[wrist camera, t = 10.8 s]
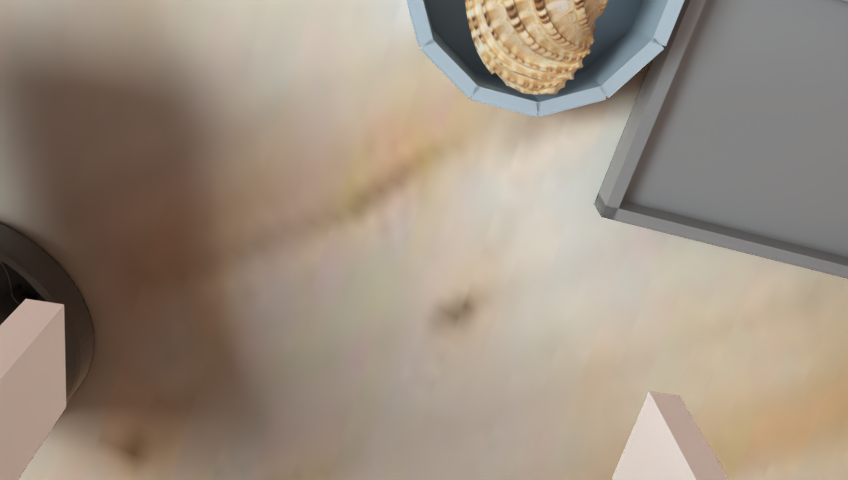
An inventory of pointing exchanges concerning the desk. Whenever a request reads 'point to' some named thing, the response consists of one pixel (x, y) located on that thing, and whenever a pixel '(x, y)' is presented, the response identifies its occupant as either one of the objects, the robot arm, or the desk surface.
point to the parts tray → (743, 133)
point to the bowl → (601, 74)
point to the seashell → (533, 39)
